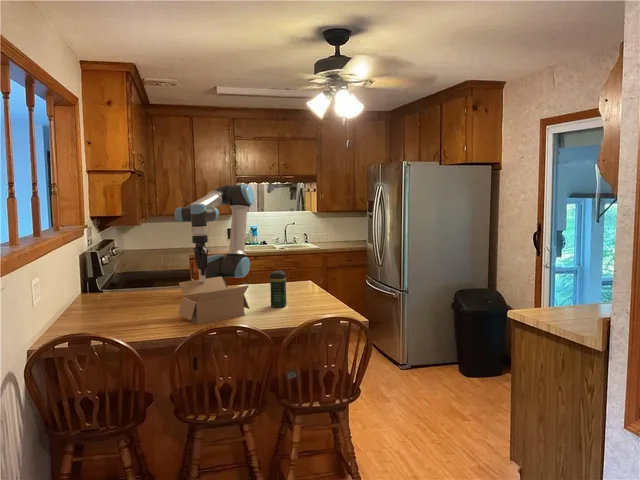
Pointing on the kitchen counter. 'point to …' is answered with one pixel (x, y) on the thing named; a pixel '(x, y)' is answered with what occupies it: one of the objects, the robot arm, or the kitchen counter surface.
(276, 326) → the kitchen counter surface
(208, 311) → the carton
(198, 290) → the flap
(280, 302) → the coffee jar
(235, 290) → the flap
